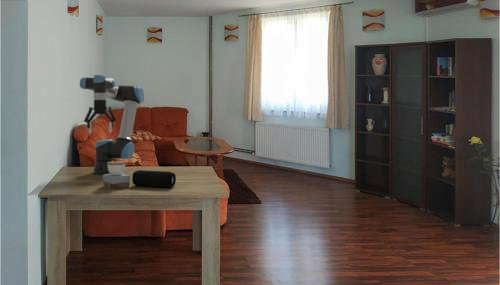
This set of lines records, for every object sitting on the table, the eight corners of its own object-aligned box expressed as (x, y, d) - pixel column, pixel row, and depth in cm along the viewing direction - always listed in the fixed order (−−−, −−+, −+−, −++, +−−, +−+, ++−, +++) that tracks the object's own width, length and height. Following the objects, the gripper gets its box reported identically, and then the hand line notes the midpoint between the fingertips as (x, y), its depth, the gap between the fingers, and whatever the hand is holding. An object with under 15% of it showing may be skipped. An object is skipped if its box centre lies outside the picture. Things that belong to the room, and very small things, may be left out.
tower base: (103, 186, 359) (103, 180, 359) (121, 185, 366) (121, 178, 366) (110, 190, 350) (110, 183, 349) (129, 188, 357) (129, 182, 356)
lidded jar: (108, 173, 362) (108, 158, 361) (126, 173, 363) (125, 158, 362) (106, 176, 351) (106, 160, 350) (124, 175, 352) (124, 160, 352)
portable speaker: (176, 186, 363) (176, 170, 362) (171, 189, 354) (171, 173, 352) (137, 184, 368) (137, 168, 366) (131, 187, 358) (131, 171, 357)
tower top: (103, 181, 358) (103, 174, 357) (120, 179, 366) (120, 172, 365) (112, 183, 349) (112, 177, 348) (130, 181, 357) (130, 175, 356)
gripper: (82, 99, 357) (83, 134, 359) (120, 99, 371) (121, 132, 374) (78, 99, 363) (79, 133, 366) (116, 98, 377) (116, 131, 380)
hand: (100, 132), depth 370 cm, fingers open, 13 cm apart
